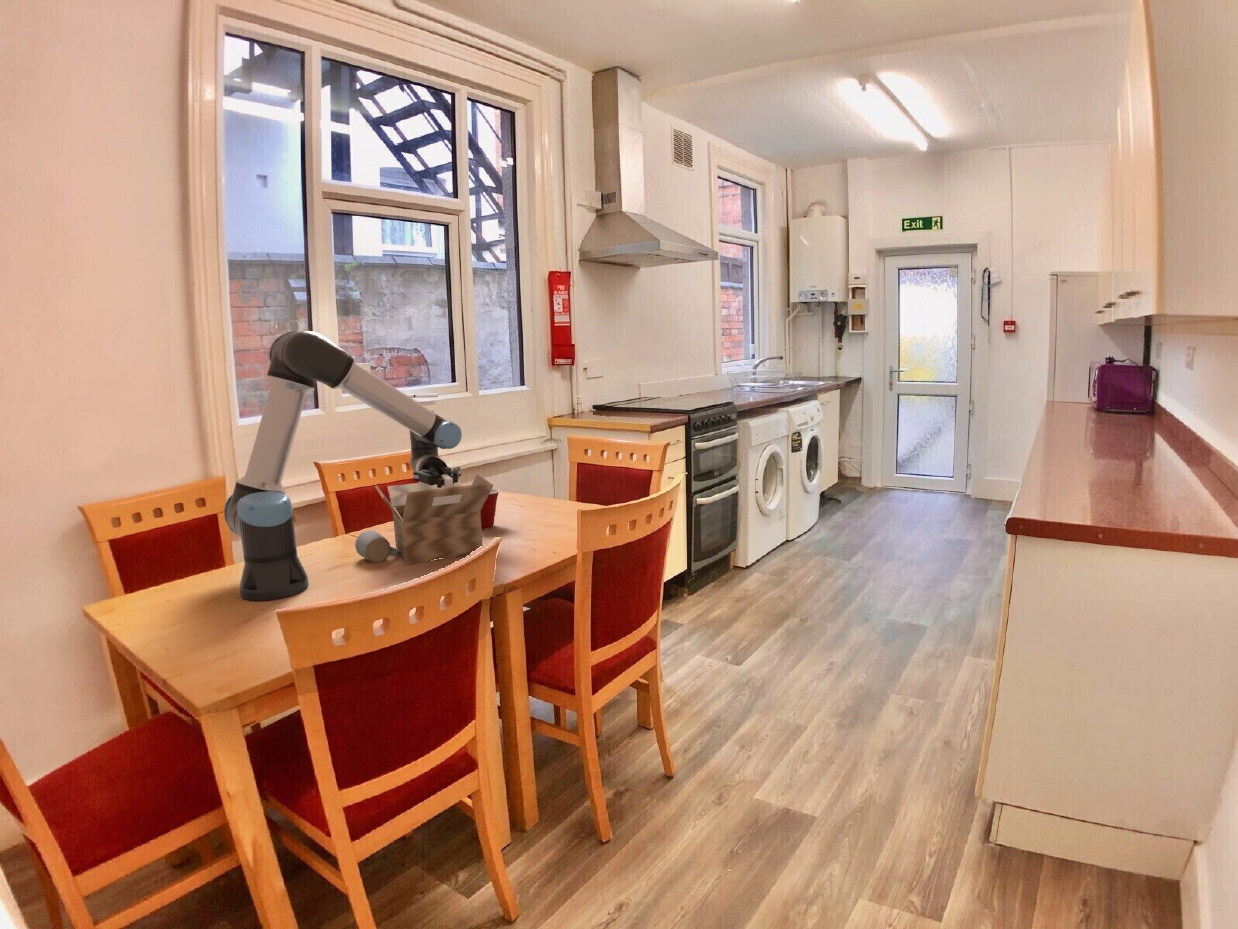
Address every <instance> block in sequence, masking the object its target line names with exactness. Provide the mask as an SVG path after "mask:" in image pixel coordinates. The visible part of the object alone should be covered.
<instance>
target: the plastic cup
mask: <svg viewBox="0 0 1238 929" xmlns="http://www.w3.org/2000/svg"><path fill="white" fill-rule="evenodd" d="M500 492H501V490H500V489H497V488H492V489H491V491H490V493H489V495H488V497H487V499H486V501H485V503H484V505H483V508H482V510H481V511H480V515H481V529H482V530H486V529H491V528H493V527H494V525H495V516H496V510H497V501H498V497H499V493H500Z"/></svg>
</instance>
